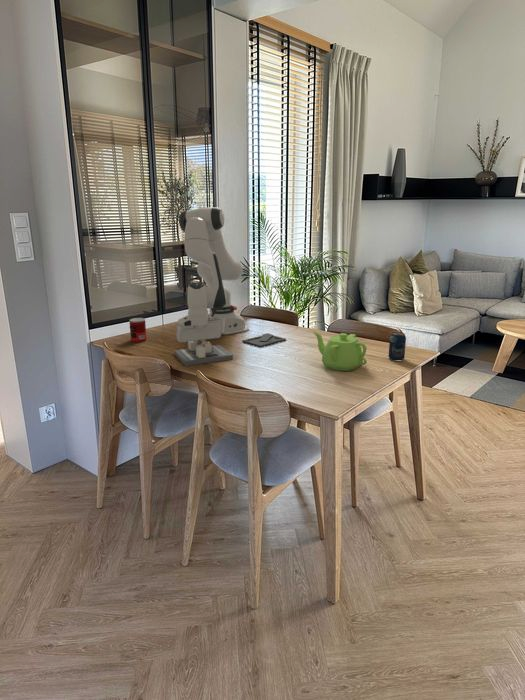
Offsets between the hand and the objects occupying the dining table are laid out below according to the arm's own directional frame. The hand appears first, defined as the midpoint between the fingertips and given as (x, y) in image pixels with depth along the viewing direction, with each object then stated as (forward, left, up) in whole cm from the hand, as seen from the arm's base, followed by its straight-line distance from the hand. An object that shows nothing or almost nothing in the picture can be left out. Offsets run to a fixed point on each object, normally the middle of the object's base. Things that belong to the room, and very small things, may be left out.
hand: (199, 349), depth 222 cm
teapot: (-50, +37, -4) cm, 63 cm away
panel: (-1, 0, -4) cm, 4 cm away
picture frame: (-38, -11, -5) cm, 40 cm away
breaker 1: (+2, -6, -2) cm, 6 cm away
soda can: (-78, +41, -4) cm, 89 cm away
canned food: (+20, -41, -4) cm, 45 cm away
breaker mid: (-3, 0, -2) cm, 4 cm away
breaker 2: (+2, +6, -2) cm, 7 cm away
